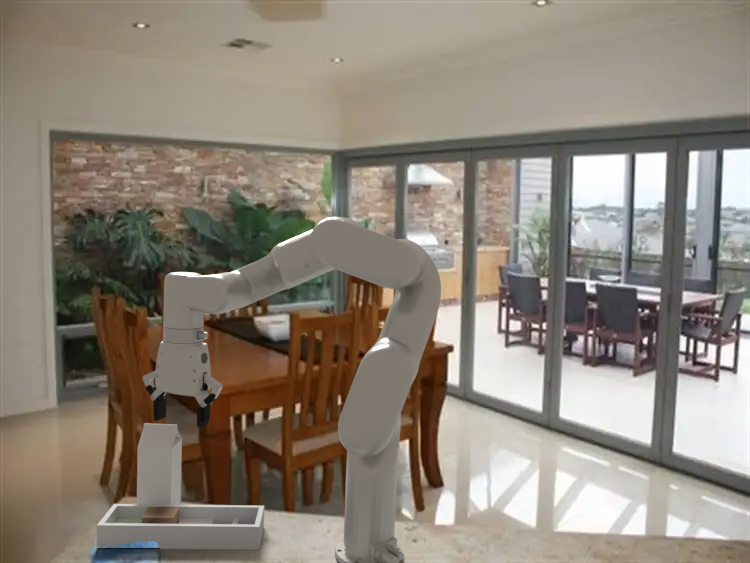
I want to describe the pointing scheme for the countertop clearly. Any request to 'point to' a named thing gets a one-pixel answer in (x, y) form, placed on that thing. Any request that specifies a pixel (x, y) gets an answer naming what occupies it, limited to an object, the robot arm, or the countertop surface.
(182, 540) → the box
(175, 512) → the block
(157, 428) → the milk carton
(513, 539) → the countertop surface
